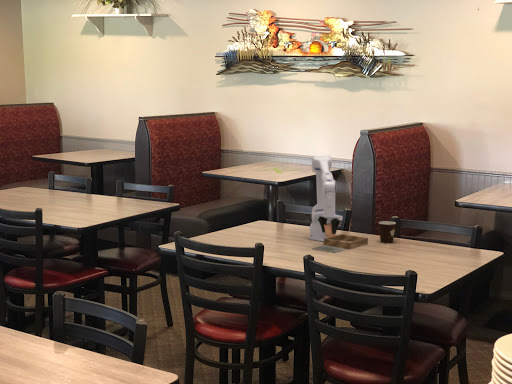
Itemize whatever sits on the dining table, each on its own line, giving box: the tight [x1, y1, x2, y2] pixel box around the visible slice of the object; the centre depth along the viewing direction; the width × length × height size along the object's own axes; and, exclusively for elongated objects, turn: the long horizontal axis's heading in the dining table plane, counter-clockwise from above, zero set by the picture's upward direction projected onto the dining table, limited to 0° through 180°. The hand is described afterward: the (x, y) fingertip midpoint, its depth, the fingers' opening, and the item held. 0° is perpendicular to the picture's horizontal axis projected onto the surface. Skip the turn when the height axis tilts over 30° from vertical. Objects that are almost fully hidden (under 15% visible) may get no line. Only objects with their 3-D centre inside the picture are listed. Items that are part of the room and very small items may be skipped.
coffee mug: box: [378, 220, 398, 244], centre depth 349 cm, size 12×9×10 cm
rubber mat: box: [311, 244, 347, 254], centre depth 334 cm, size 14×9×1 cm, turn 48°
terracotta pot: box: [324, 222, 337, 238], centre depth 333 cm, size 6×6×6 cm
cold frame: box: [323, 233, 369, 250], centre depth 345 cm, size 16×16×3 cm
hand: (329, 233), depth 333 cm, fingers closed on terracotta pot, 5 cm apart
